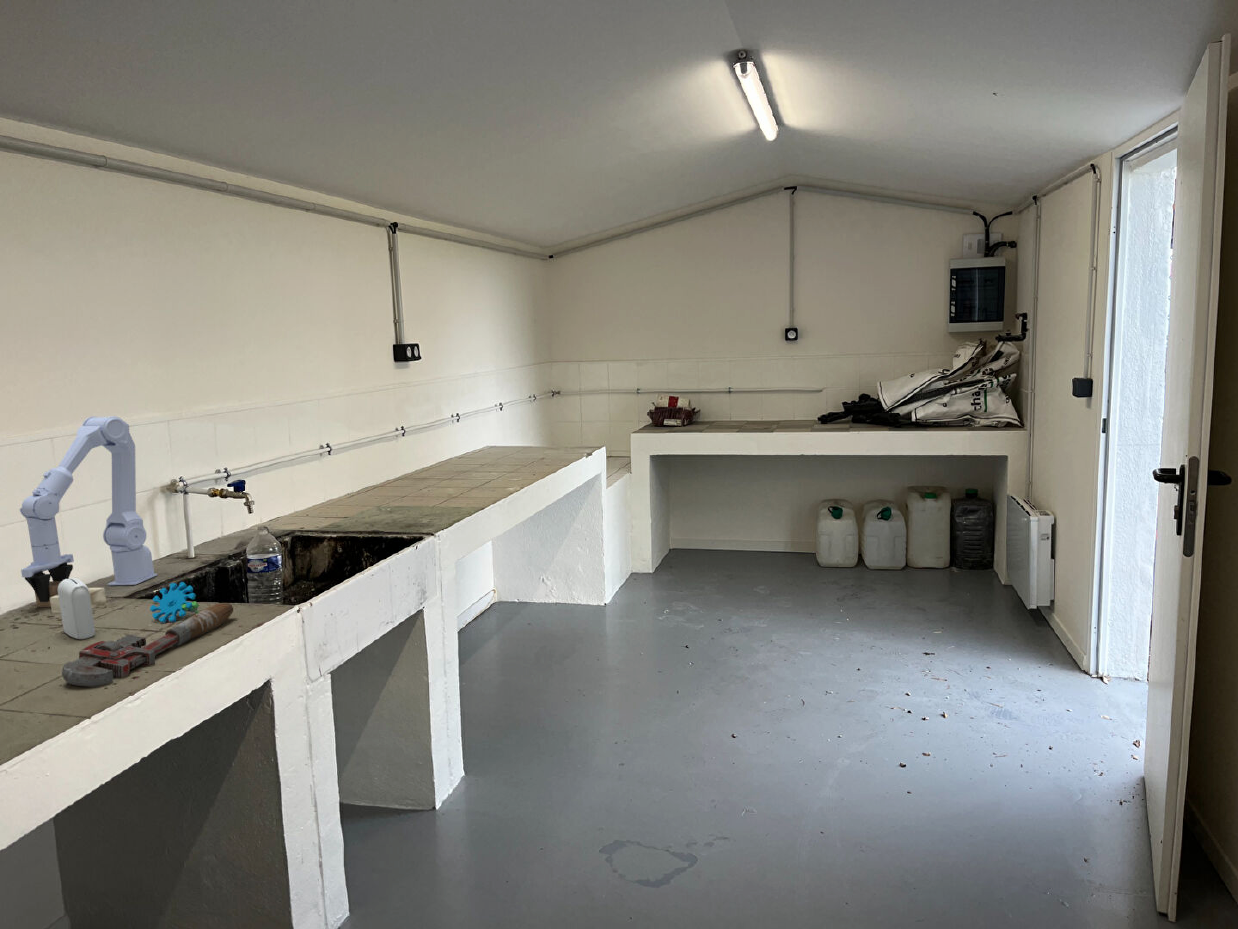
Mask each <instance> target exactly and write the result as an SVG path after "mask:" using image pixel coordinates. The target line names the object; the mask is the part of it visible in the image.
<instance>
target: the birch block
mask: <svg viewBox="0 0 1238 929" xmlns="http://www.w3.org/2000/svg"><path fill="white" fill-rule="evenodd" d="M88 589H89V593H90V599H91V606H92V609H94V608H97V607H98V606H102V605H104V604H106V603H107V598H106V597H107V596H106V591H105V587H88ZM50 603H51V607H50V608H51V613H52V614H61V610H60V603H59V596H58V595H56V596H53V597H51V598H50Z"/></svg>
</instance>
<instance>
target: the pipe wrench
mask: <svg viewBox="0 0 1238 929" xmlns="http://www.w3.org/2000/svg"><path fill="white" fill-rule="evenodd" d="M233 613H234V607H233V605H232V604H231V603H230V602H229V603H228V602H221V603H216V604H213V605H210V606H208V607H205V608H204V609H203V610H201V611H199V613H197V614H196V613H195V614H193V615H191V616H190V617H188V618H187V619H185V620H183V621H182V622H180V623H178V624H176V625H175V626H173V627H171V628H169V629H167V630H166V632H165V634H164V635H163V636H161V637H159V638H158V639H155V640H153V641H152V642H150V643H148V644H147V638H146V637H143V636H138V635H133V634H126V635H125V636H122V637H121V638H118V639H117V640H108V641H107V640H100V641H97V642H94V643H92V644H90V645H89V644H88V645H87V646H86V647H84V648H82V649H81V650H80V651H78V652H79V653H78V658H77V659H75V660H73V661H68V662H66V663H64V664H63V666H62V668H61V669H62V670H61V676H62V678H63V680H64V681H65V682H66V683H69V684H71V685H74V686H79V687H91V688H92V687H102V686H104V685H108V684H111V683H113V681H114V678H119V679H120V678H121V679H124V678H125V677H126V676H127V677H128V676H129V673H130V670H133V669H134V668H136V667H137V666H142V667H143V666H146V667H147V666H148V667H149V666H150V667H151V666H152V665H155V662H156V660H155V659H156V656H157V655H158V654H160V653H161V652H164V651H166V650H167V649H169V648H171V647H179V646H181V645H182V644H184V643H186V642H188V641H190V640H192V639H195V638H197V637H199V636H201V635H203V634H205V633H207V632H209V631H211V630H213V629H215V628H218V627H219V626H220V625H221V624H223V623H224V622H226V621H227V620H228V619H229V618H230V616H231V615H232V614H233Z"/></svg>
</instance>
